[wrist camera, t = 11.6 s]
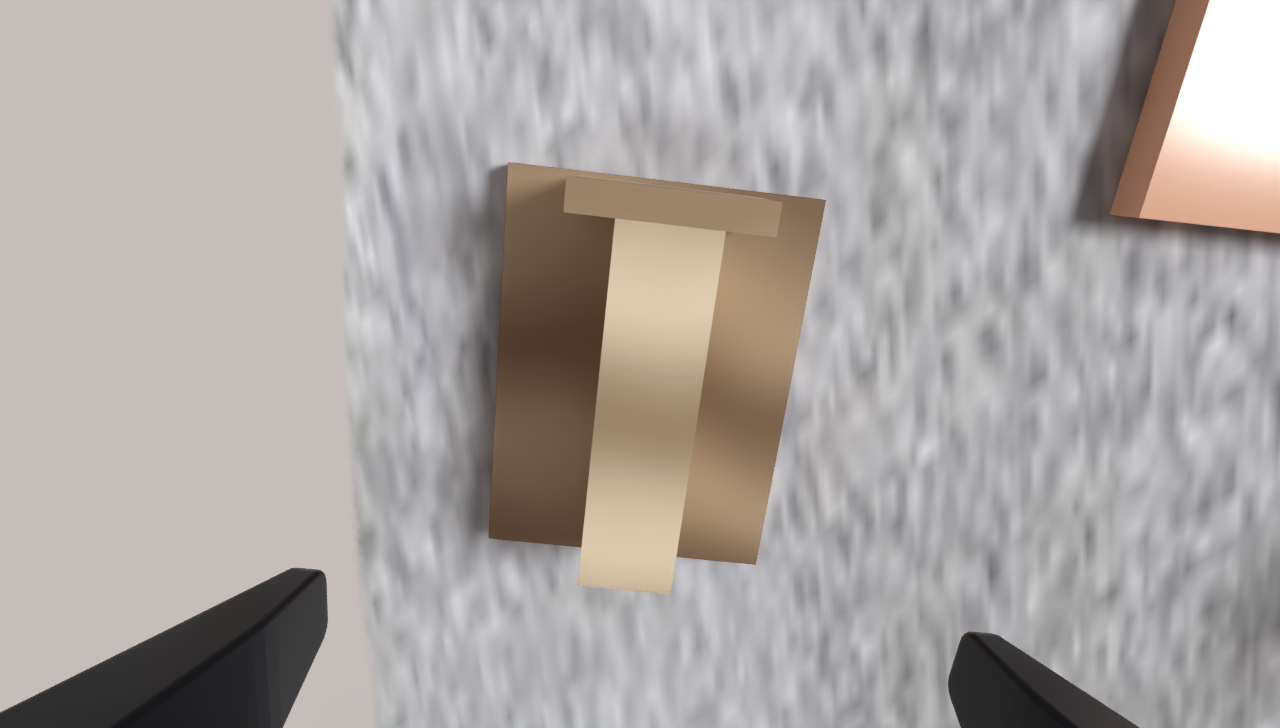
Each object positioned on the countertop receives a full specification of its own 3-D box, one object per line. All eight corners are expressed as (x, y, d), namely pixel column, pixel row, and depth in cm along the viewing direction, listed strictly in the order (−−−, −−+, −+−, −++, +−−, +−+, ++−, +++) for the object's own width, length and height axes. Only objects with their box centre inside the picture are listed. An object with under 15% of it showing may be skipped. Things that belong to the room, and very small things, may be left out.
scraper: (701, 531, 21) (713, 598, 18) (551, 515, 21) (534, 581, 18) (756, 196, 18) (782, 202, 15) (580, 175, 18) (566, 176, 14)
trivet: (752, 554, 22) (755, 564, 21) (492, 528, 22) (488, 538, 21) (820, 199, 19) (825, 200, 18) (512, 162, 18) (508, 162, 18)
